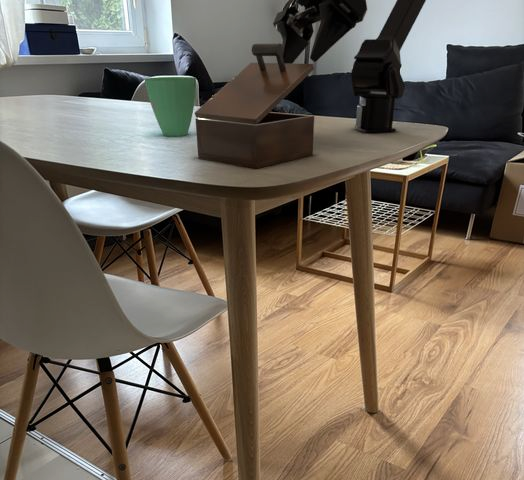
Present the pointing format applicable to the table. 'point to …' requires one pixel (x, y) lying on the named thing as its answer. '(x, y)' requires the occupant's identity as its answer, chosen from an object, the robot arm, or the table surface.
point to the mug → (172, 103)
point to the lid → (255, 88)
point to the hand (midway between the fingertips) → (296, 65)
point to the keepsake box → (256, 140)
